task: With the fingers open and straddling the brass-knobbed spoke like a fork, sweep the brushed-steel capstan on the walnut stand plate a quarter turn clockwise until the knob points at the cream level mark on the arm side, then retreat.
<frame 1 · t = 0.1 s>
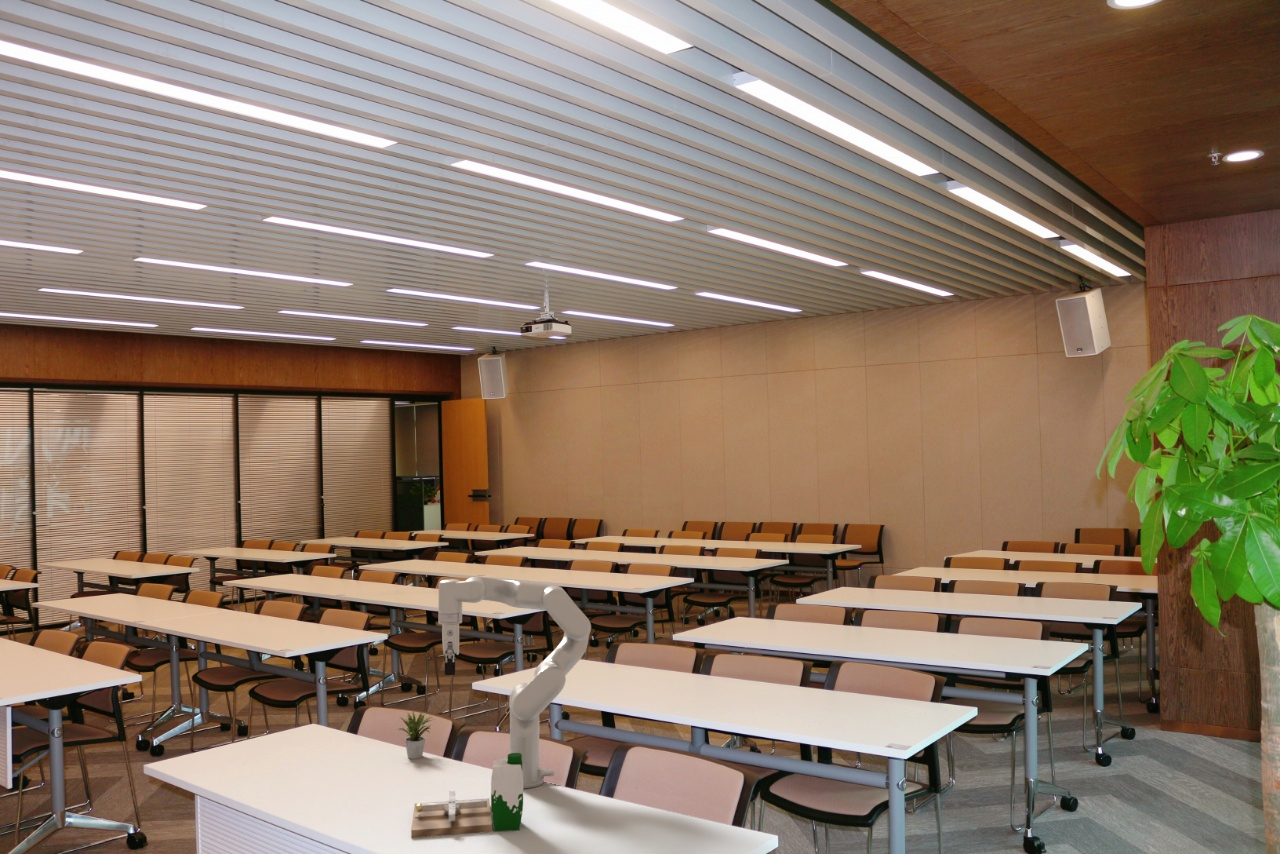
hand: (450, 671, 307), 37 cm above the table, tool pointing down, fingers open, 9 cm apart
stand plate: (452, 820, 276), on the table
house plant: (415, 758, 338), on the table
capstan: (451, 807, 276), point 4 cm above the table, hinge at 0.0°
milk carton: (507, 827, 271), on the table
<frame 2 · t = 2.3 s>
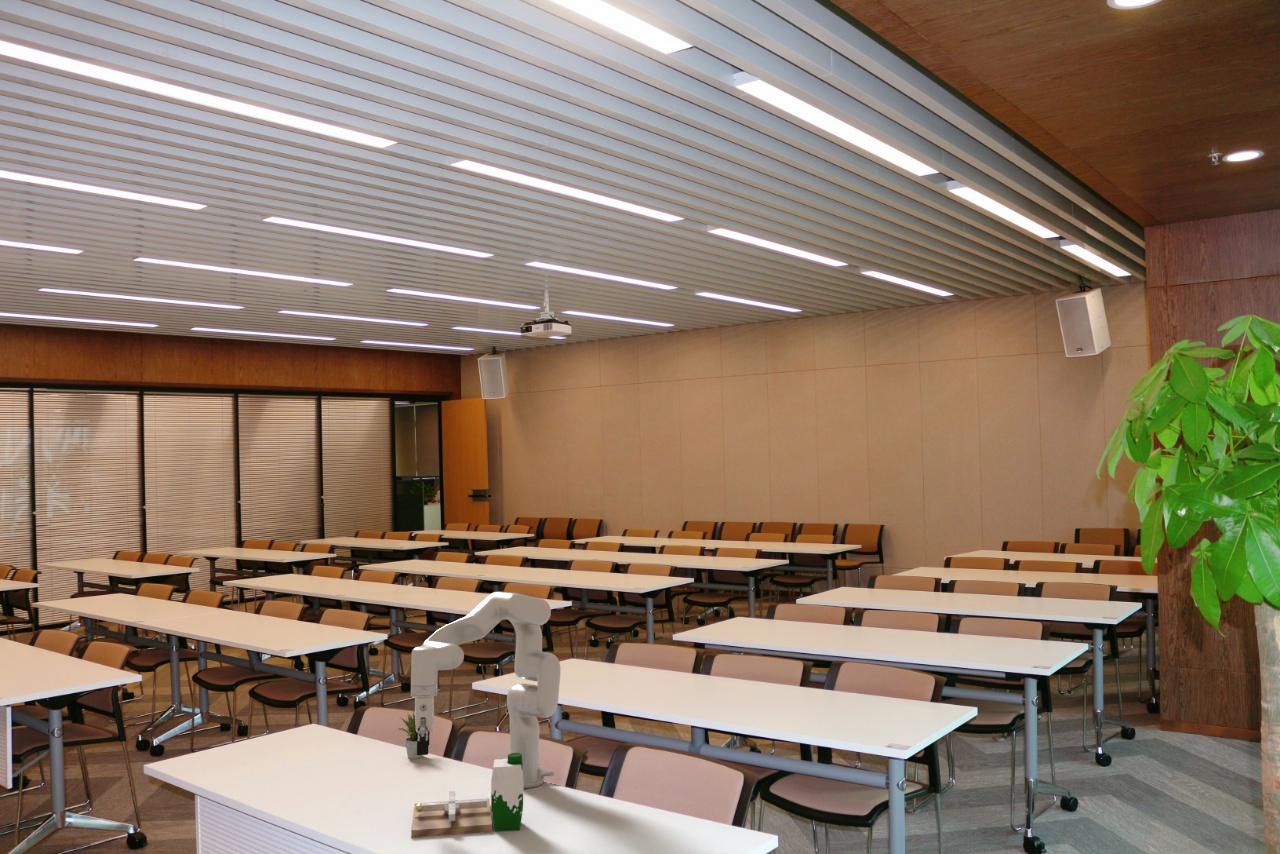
hand: (423, 750, 275), 21 cm above the table, tool pointing down, fingers open, 9 cm apart
nothing on the table moved.
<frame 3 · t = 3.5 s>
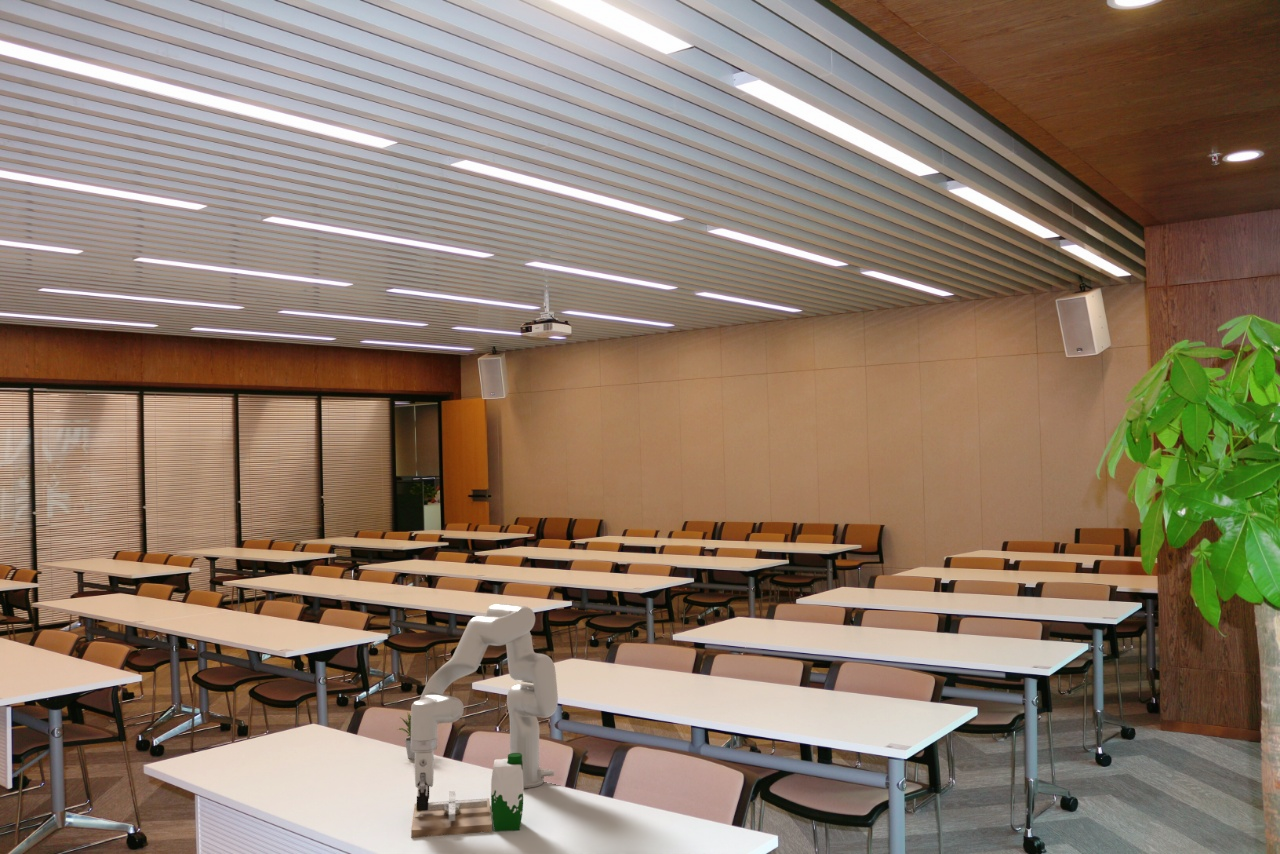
hand: (422, 804, 275), 5 cm above the table, tool pointing down, fingers open, 9 cm apart
nothing on the table moved.
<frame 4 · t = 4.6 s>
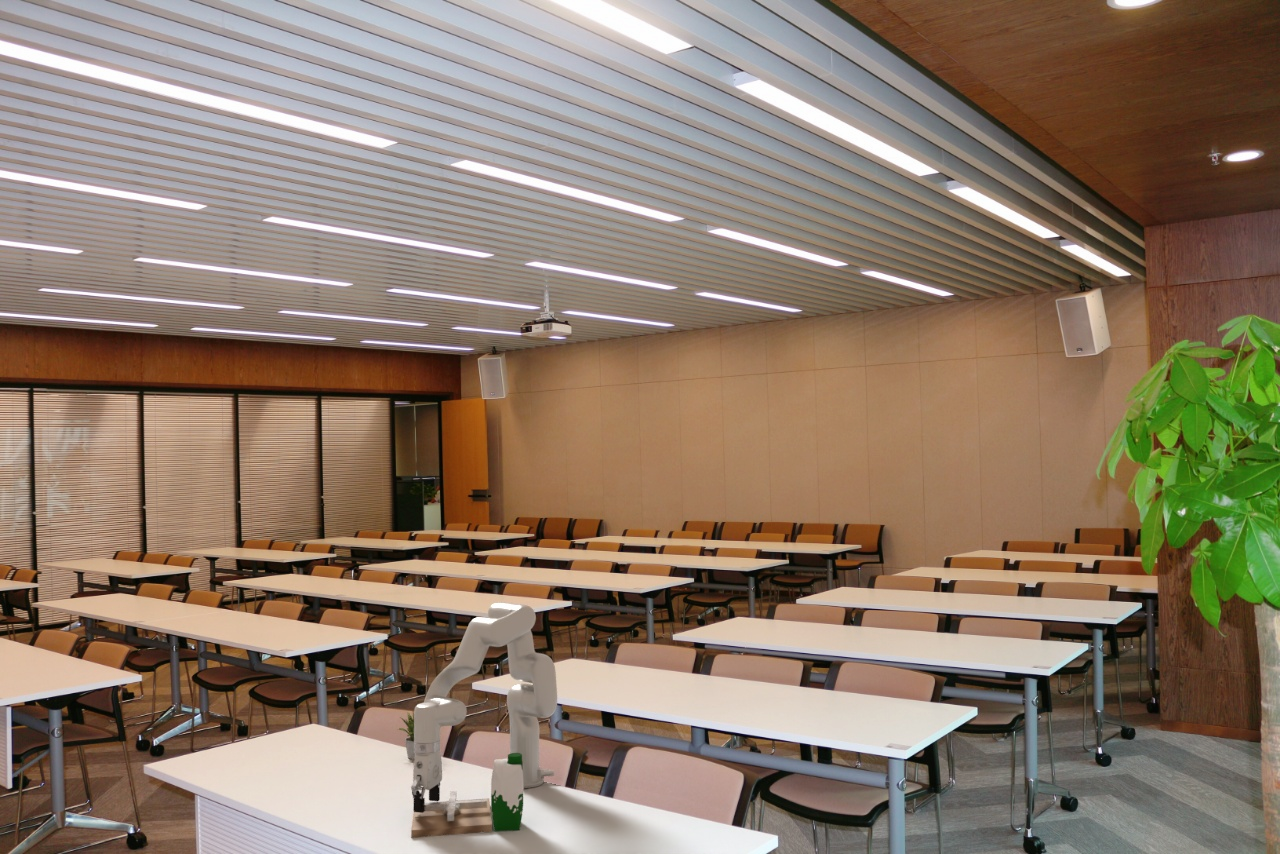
hand: (426, 806, 278), 4 cm above the table, tool pointing down, fingers open, 9 cm apart
capstan: (451, 807, 276), point 4 cm above the table, hinge at -2.0°, touching gripper
everything else where it was.
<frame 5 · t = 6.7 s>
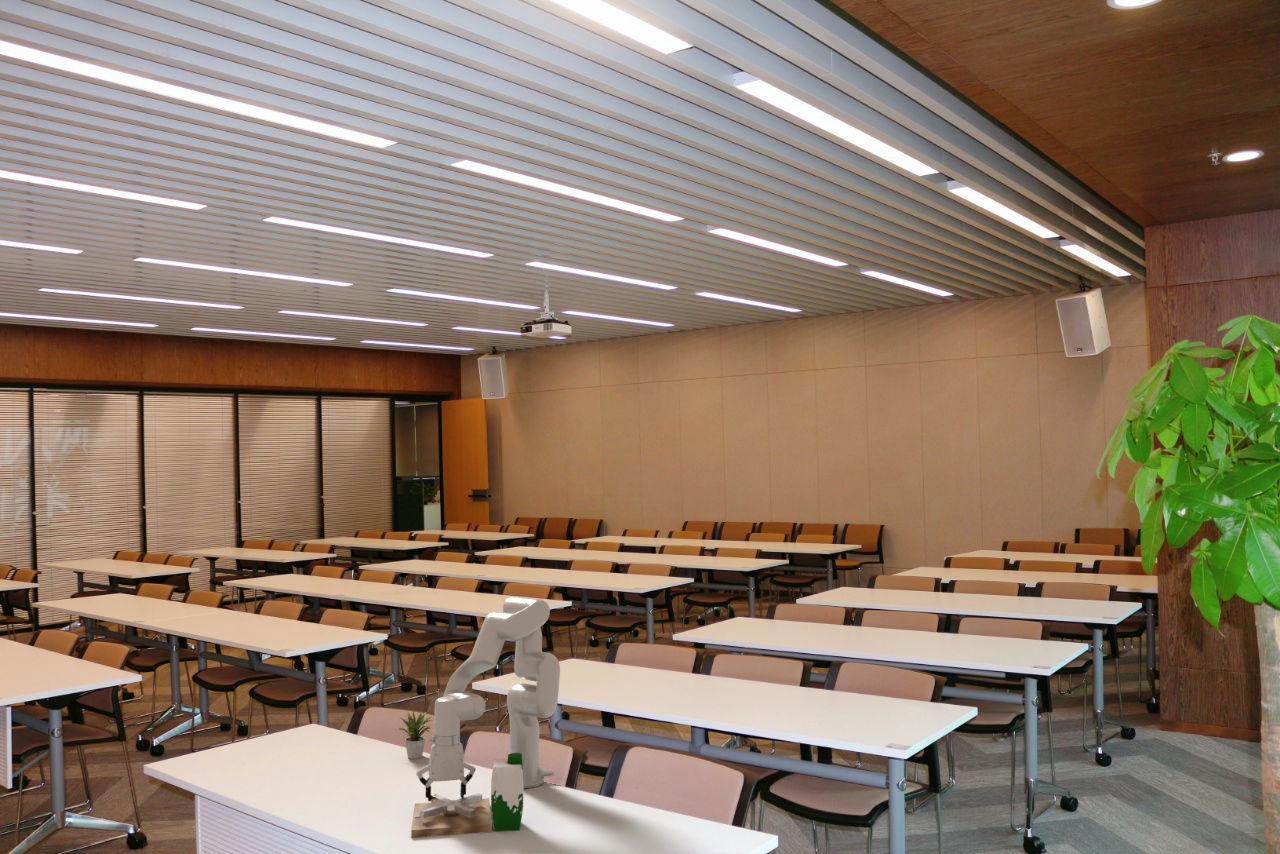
hand: (445, 798, 283), 4 cm above the table, tool pointing down, fingers open, 9 cm apart
capstan: (451, 806, 277), point 4 cm above the table, hinge at -55.4°, touching gripper
everything else where it was.
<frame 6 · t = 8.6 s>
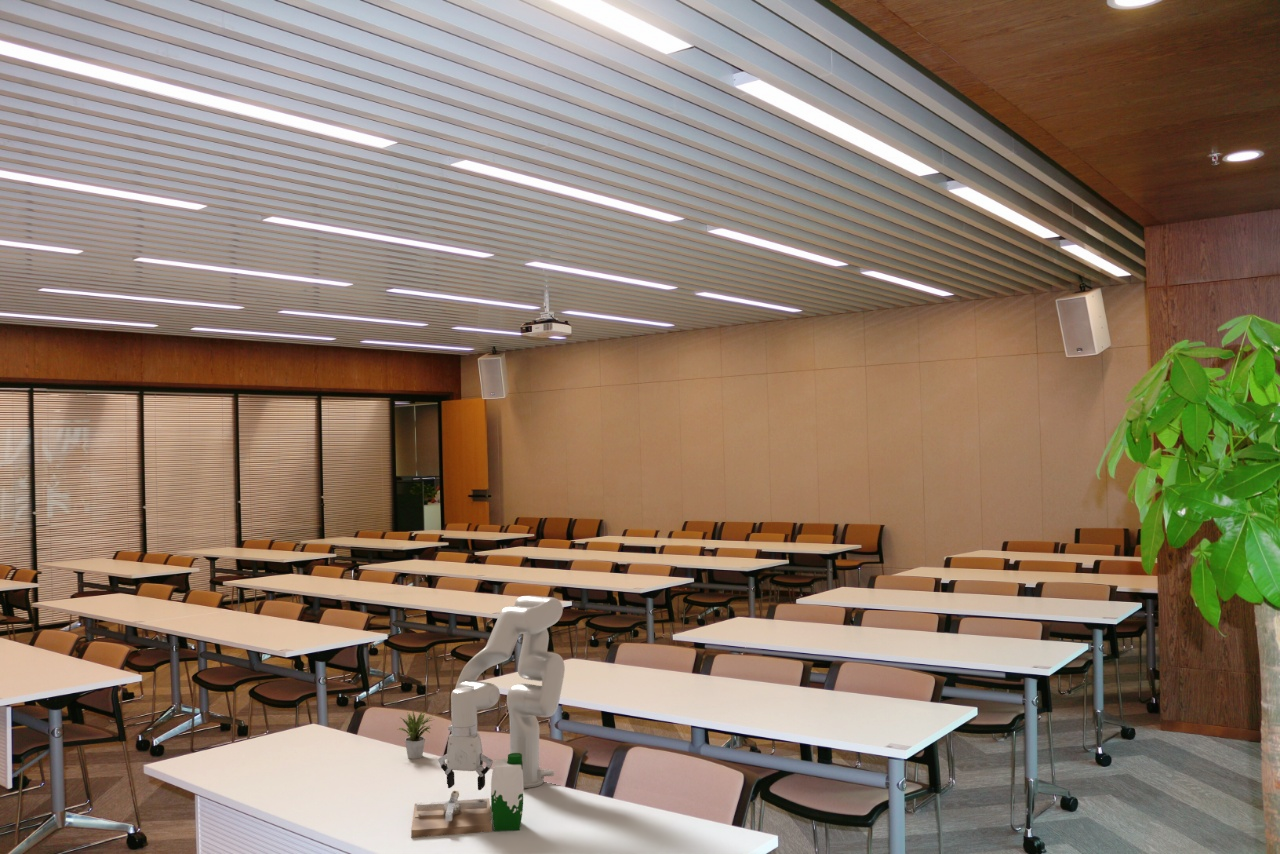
hand: (466, 787, 285), 7 cm above the table, tool pointing down, fingers open, 9 cm apart
capstan: (452, 806, 277), point 4 cm above the table, hinge at -95.1°
everything else where it was.
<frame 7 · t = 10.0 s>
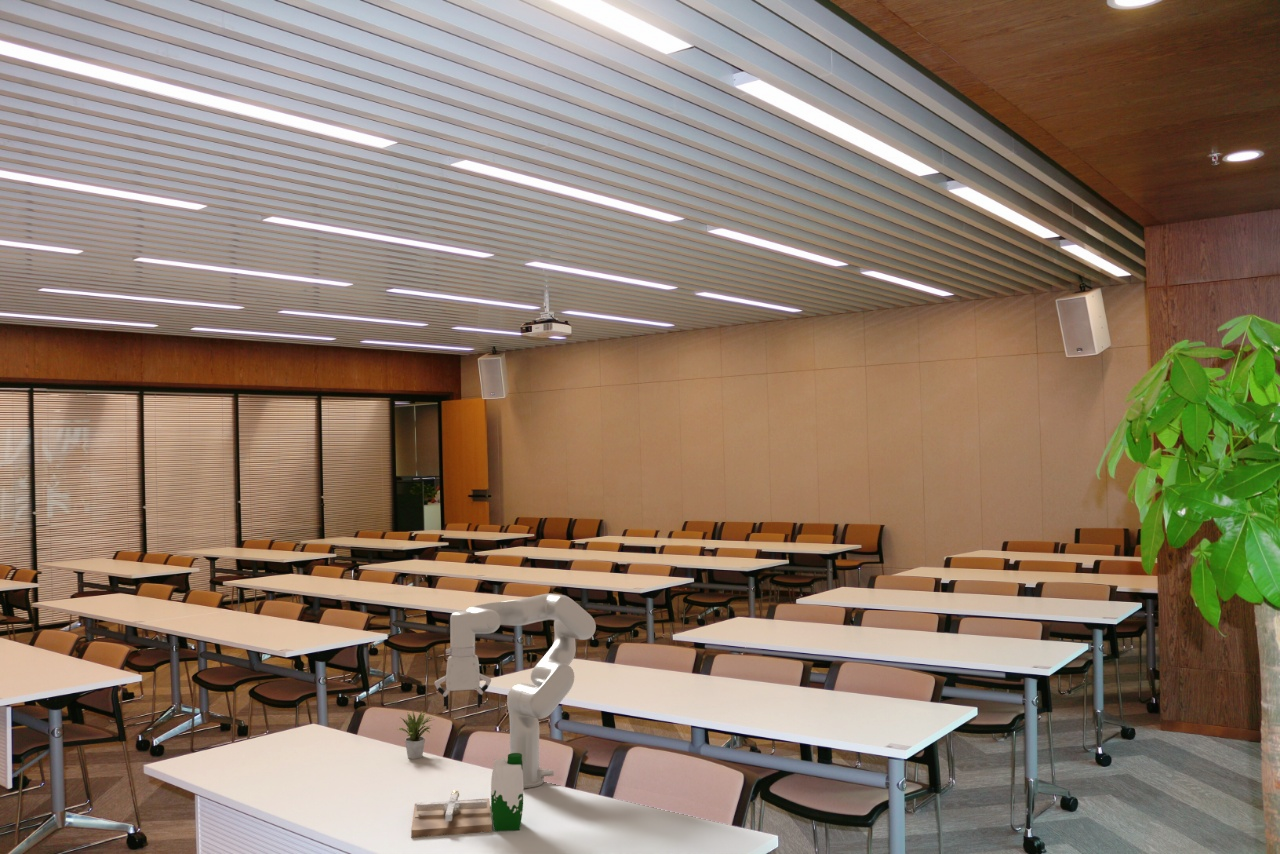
hand: (463, 707, 296), 28 cm above the table, tool pointing down, fingers open, 9 cm apart
nothing on the table moved.
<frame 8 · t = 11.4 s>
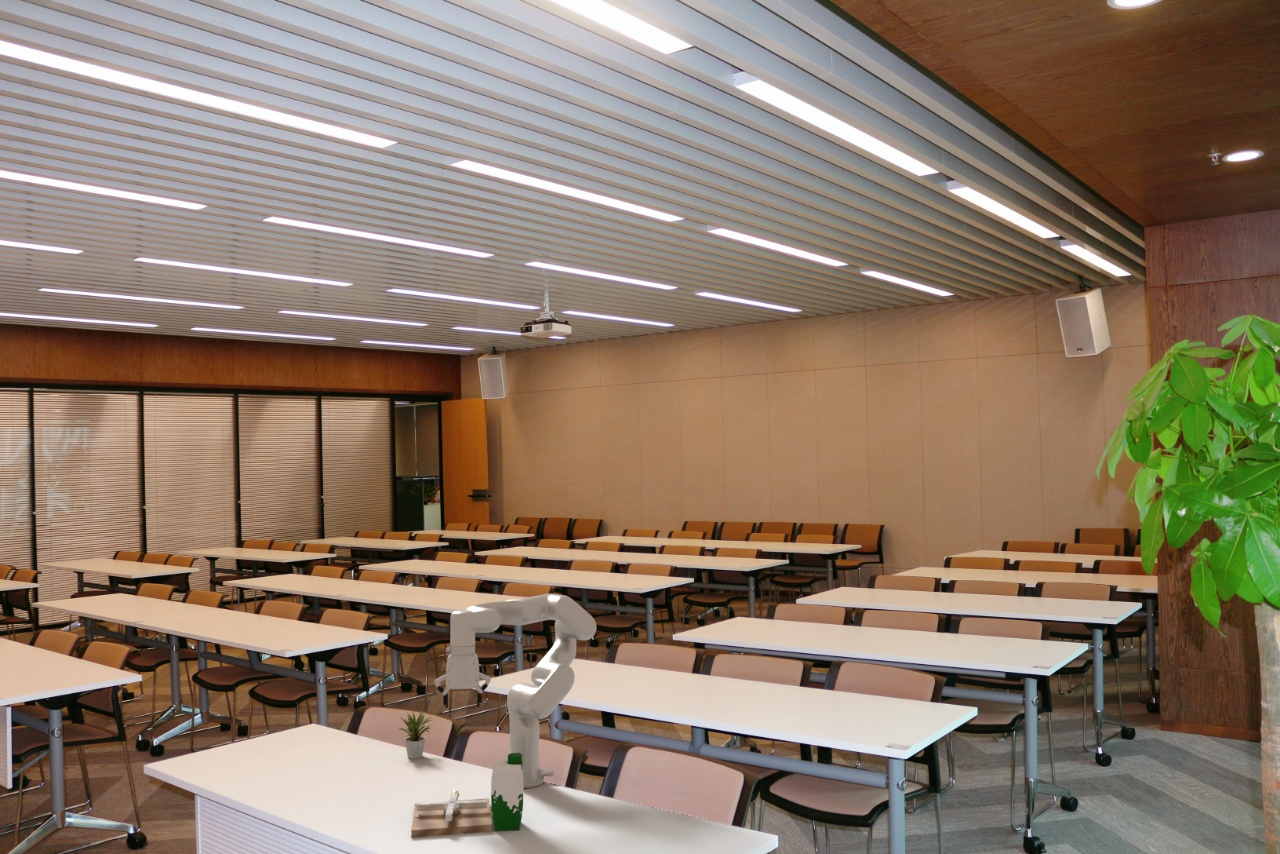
hand: (462, 706, 296), 28 cm above the table, tool pointing down, fingers open, 9 cm apart
nothing on the table moved.
at the end: capstan at -95° (first picture: +0°) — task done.
